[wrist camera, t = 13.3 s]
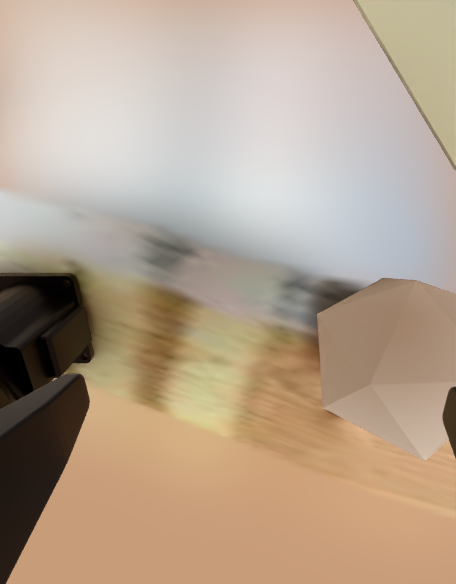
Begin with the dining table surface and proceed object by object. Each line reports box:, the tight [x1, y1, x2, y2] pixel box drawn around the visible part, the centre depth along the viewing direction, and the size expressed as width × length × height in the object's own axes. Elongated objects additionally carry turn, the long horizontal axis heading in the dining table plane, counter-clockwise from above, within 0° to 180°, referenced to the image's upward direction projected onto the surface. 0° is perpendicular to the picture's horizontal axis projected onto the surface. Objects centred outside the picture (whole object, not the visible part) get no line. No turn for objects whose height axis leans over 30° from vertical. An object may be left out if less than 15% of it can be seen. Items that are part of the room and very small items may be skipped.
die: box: [317, 278, 456, 461], centre depth 19 cm, size 8×9×10 cm
